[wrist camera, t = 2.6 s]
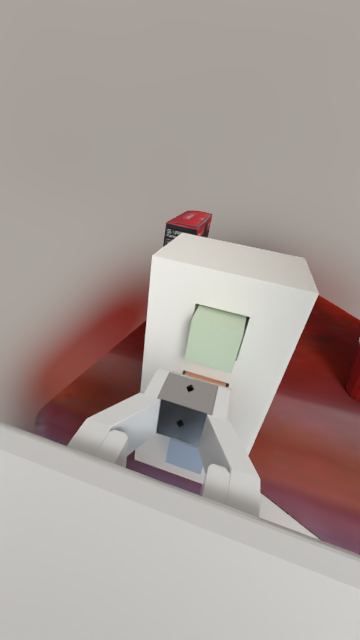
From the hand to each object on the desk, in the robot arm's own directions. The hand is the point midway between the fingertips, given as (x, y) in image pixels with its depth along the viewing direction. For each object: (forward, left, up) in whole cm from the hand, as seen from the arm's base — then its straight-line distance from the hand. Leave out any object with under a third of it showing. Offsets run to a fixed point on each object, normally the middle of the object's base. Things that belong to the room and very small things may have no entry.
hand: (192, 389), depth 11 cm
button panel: (-15, -12, -30) cm, 36 cm away
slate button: (-11, -9, -24) cm, 28 cm away
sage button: (-11, -9, -8) cm, 16 cm away
